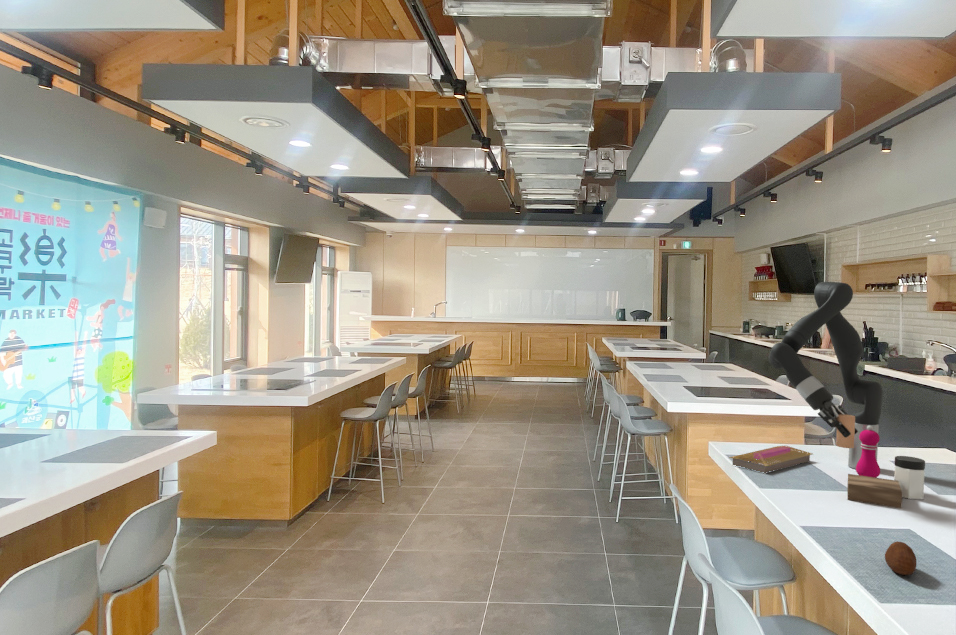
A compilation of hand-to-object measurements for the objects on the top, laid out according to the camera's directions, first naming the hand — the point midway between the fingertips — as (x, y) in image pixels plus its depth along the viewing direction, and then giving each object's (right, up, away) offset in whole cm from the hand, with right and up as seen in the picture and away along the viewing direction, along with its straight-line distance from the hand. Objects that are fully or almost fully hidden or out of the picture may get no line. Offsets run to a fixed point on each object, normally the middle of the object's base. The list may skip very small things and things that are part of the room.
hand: (851, 434), depth 201 cm
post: (-1, -4, +2) cm, 5 cm away
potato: (-24, -21, -58) cm, 66 cm away
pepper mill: (+14, -20, +14) cm, 28 cm away
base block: (+5, -20, -2) cm, 21 cm away
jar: (+19, -20, +1) cm, 28 cm away
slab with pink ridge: (-8, -19, +38) cm, 44 cm away
